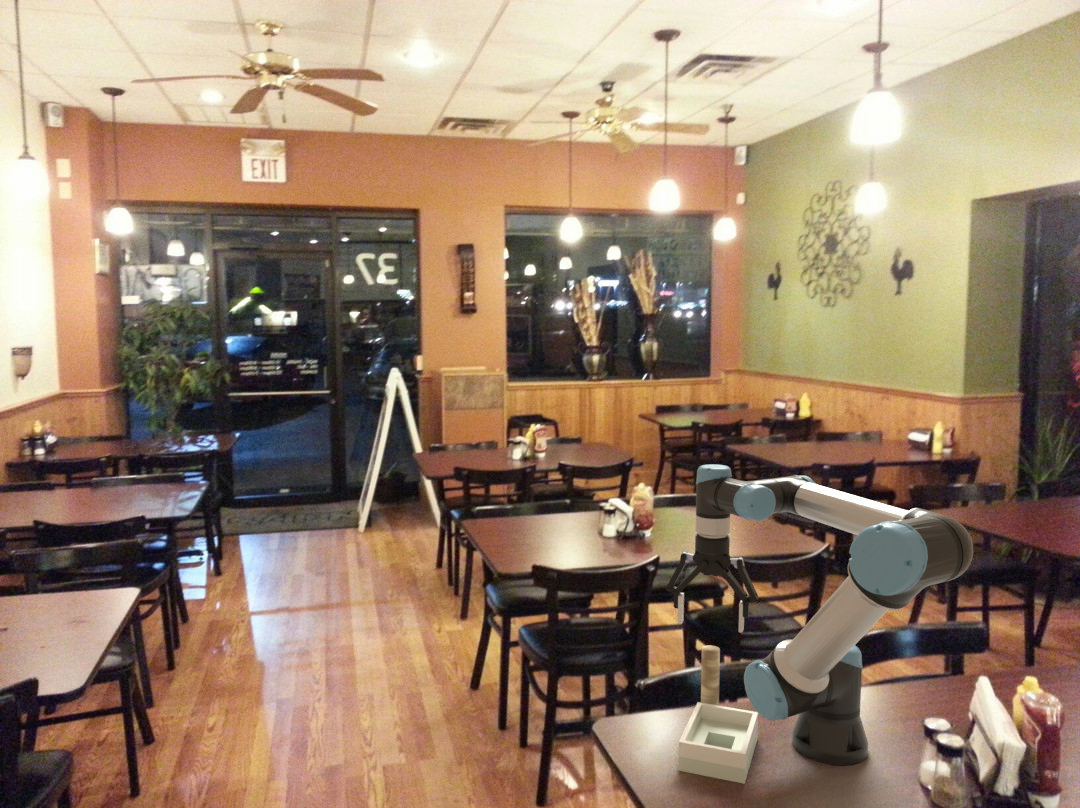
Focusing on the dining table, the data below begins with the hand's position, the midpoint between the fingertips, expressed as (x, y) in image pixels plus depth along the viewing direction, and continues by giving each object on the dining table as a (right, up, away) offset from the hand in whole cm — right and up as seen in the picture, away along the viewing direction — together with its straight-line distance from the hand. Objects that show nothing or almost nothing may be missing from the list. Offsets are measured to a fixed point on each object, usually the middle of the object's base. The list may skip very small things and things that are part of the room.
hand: (710, 626), depth 187 cm
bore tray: (-1, -23, -15) cm, 27 cm away
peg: (0, -21, +2) cm, 21 cm away
